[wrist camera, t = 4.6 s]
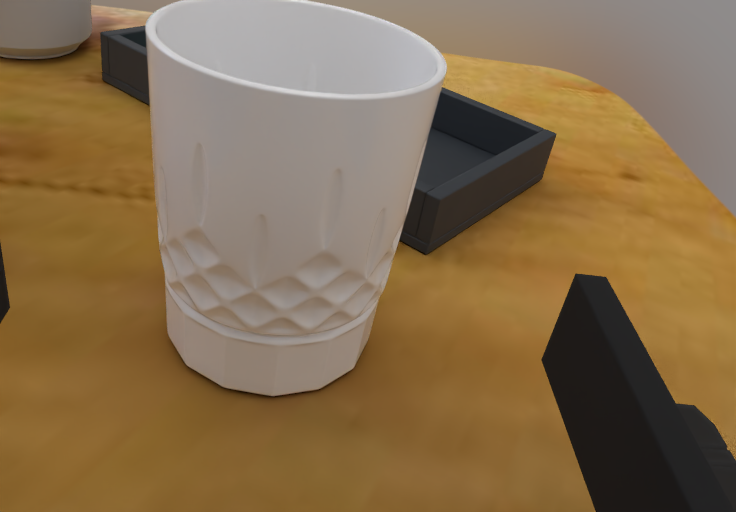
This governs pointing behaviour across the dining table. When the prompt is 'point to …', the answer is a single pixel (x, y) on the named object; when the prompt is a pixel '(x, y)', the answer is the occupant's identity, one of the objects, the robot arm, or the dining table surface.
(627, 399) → the robot arm
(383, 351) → the dining table surface
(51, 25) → the can
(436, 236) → the divided tray
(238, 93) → the white cup
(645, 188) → the dining table surface
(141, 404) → the dining table surface
